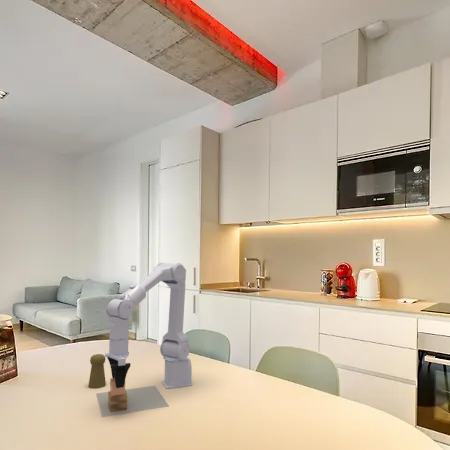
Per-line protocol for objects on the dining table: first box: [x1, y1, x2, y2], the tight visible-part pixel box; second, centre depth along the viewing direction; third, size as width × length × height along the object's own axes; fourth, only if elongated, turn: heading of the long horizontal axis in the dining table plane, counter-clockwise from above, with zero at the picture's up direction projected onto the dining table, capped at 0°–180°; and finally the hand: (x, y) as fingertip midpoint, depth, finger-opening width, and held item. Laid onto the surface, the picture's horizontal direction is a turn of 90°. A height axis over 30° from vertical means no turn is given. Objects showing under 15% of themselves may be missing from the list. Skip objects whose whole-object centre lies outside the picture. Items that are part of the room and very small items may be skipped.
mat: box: [95, 385, 170, 418], centre depth 124 cm, size 20×20×1 cm
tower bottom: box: [108, 400, 127, 412], centre depth 118 cm, size 5×5×2 cm
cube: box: [109, 377, 126, 396], centre depth 118 cm, size 4×4×4 cm
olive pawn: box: [88, 353, 107, 390], centre depth 137 cm, size 6×6×11 cm
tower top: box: [107, 390, 127, 405], centre depth 118 cm, size 5×5×2 cm
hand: (118, 383), depth 118 cm, fingers open, 7 cm apart
